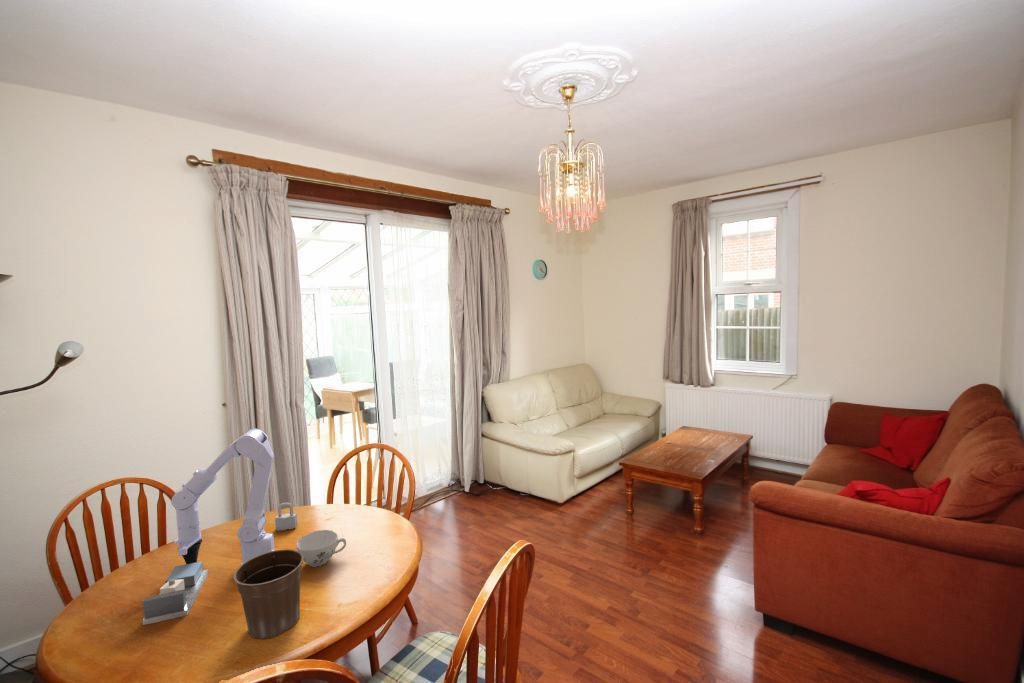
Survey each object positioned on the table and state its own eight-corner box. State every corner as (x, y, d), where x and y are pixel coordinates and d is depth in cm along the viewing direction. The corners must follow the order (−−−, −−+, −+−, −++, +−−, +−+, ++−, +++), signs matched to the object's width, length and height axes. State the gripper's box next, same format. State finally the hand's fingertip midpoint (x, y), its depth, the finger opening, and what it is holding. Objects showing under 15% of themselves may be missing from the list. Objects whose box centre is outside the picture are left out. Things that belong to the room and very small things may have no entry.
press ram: (202, 569, 144) (202, 561, 143) (194, 584, 136) (193, 575, 136) (175, 575, 141) (175, 566, 141) (165, 590, 133) (165, 581, 133)
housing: (185, 595, 131) (183, 575, 131) (176, 604, 127) (174, 584, 127) (170, 596, 131) (168, 576, 130) (161, 605, 127) (159, 585, 126)
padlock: (298, 524, 176) (296, 499, 175) (294, 529, 172) (293, 504, 171) (278, 526, 175) (277, 501, 174) (275, 531, 171) (273, 505, 170)
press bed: (208, 573, 144) (206, 554, 144) (187, 615, 125) (185, 592, 124) (170, 581, 141) (169, 561, 140) (142, 625, 121) (140, 602, 121)
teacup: (294, 576, 141) (293, 552, 141) (300, 556, 153) (299, 533, 153) (345, 567, 146) (344, 543, 145) (348, 548, 158) (346, 525, 157)
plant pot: (229, 652, 110) (224, 589, 109) (247, 610, 126) (243, 555, 125) (302, 637, 115) (297, 576, 114) (311, 598, 130) (307, 544, 129)
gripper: (181, 517, 149) (184, 556, 150) (164, 537, 136) (168, 581, 137) (206, 513, 152) (209, 552, 153) (192, 533, 138) (196, 575, 139)
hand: (192, 565), depth 145 cm, fingers closed
